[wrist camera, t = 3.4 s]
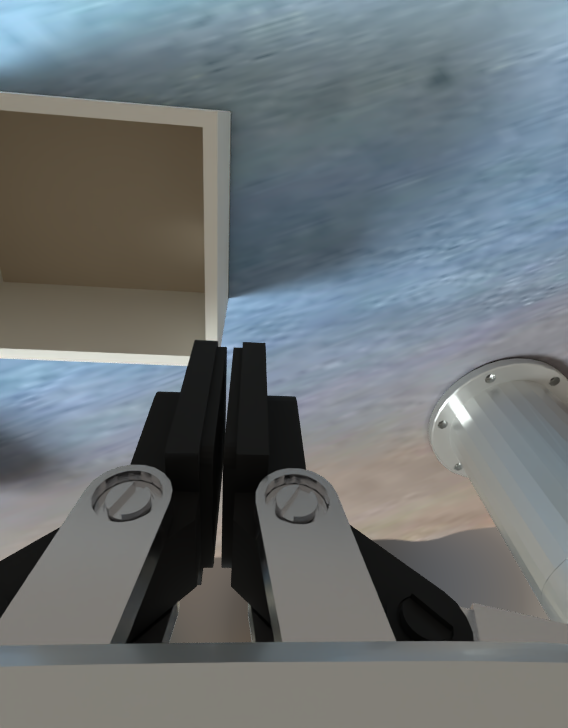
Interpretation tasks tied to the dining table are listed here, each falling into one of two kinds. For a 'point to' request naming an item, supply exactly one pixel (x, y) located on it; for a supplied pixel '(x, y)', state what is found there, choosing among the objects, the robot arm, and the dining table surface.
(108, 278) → the carton
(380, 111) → the dining table surface
